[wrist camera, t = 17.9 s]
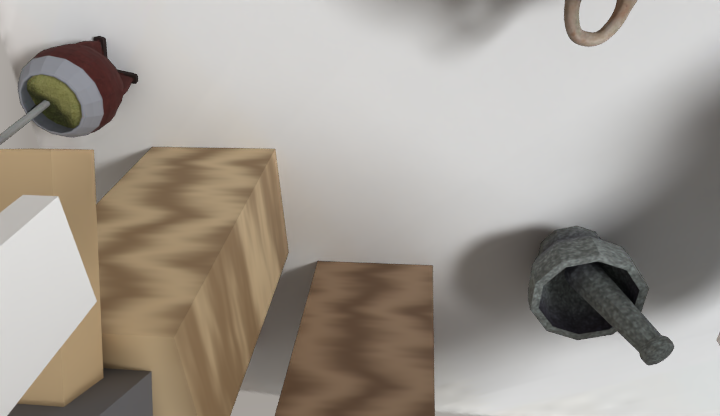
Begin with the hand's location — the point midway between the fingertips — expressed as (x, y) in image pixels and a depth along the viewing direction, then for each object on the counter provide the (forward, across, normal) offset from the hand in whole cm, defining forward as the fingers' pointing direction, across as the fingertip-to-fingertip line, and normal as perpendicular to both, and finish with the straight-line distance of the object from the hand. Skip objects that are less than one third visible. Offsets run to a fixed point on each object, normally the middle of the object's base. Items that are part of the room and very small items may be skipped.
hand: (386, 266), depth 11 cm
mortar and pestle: (+37, +16, -26) cm, 48 cm away
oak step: (+36, -19, -21) cm, 46 cm away
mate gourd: (+36, -28, -8) cm, 47 cm away
